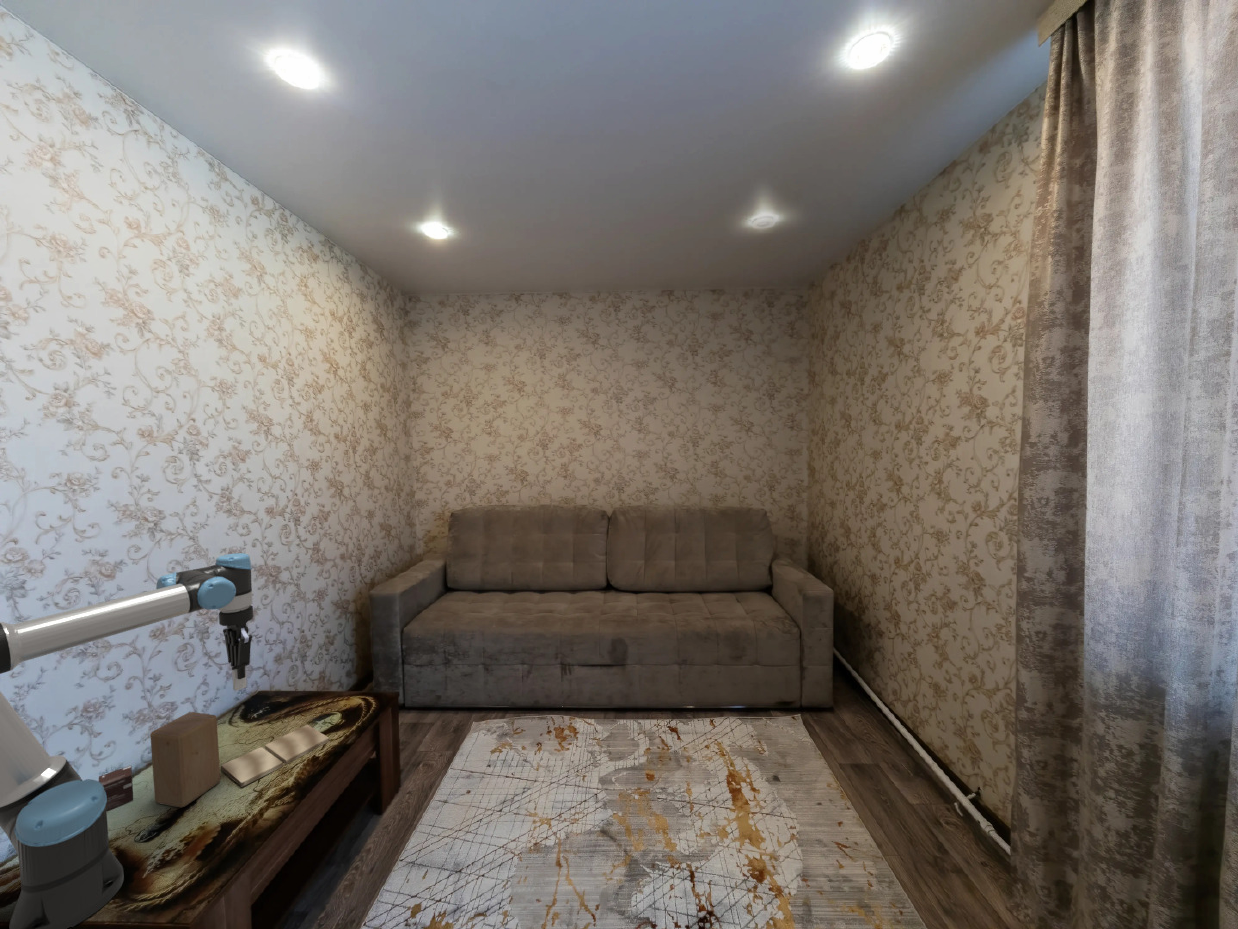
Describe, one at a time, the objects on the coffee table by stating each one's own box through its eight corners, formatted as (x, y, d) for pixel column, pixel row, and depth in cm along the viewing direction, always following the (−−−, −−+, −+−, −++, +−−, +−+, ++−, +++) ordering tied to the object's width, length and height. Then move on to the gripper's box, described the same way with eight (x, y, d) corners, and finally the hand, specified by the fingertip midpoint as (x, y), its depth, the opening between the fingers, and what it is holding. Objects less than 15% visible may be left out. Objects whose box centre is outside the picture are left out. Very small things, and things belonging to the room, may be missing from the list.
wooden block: (182, 810, 119) (177, 736, 118) (153, 804, 121) (147, 732, 120) (222, 782, 129) (218, 713, 128) (194, 777, 131) (190, 710, 130)
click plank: (241, 787, 127) (241, 783, 126) (221, 769, 134) (221, 765, 134) (282, 766, 135) (282, 762, 135) (261, 750, 142) (261, 746, 142)
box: (99, 815, 118) (97, 787, 118) (100, 802, 122) (98, 776, 122) (133, 801, 123) (131, 774, 122) (133, 789, 127) (131, 764, 127)
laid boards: (286, 764, 136) (286, 760, 136) (265, 748, 143) (265, 745, 143) (329, 741, 146) (329, 738, 146) (307, 727, 153) (307, 724, 153)
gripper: (261, 608, 130) (265, 688, 131) (242, 600, 137) (246, 676, 138) (229, 616, 124) (233, 701, 125) (210, 608, 131) (214, 688, 132)
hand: (240, 688), depth 132 cm, fingers closed
